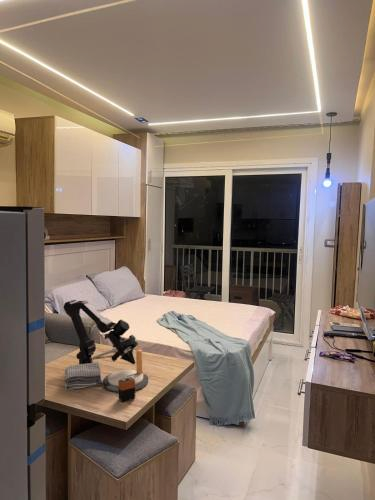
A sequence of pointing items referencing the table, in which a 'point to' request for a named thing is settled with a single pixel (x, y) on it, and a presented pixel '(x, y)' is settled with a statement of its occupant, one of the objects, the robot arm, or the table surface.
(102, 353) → the caliper
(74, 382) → the towel
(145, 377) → the dial plate
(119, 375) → the dial
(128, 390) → the battery
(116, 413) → the table surface
